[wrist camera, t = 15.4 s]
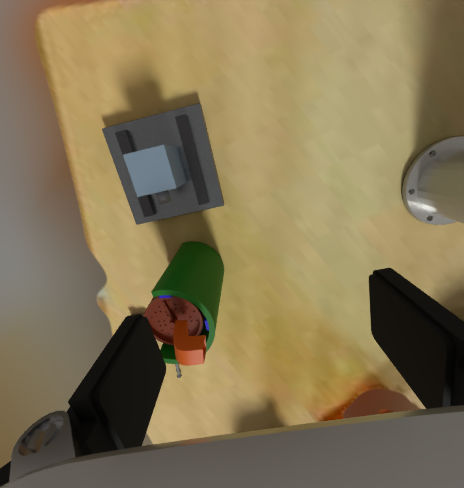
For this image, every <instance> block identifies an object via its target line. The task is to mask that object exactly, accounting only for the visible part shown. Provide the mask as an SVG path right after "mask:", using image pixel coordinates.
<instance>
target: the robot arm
mask: <svg viewBox="0 0 464 488" xmlns="http://www.w3.org/2000/svg"><path fill="white" fill-rule="evenodd" d="M402 196H403V202H404V204H405V207H406V209H407V210H408V211H409V213H410V214H411V215H412V216H413V217H415V218H416V219H418V220H420V221H422V222H425V223H428V224H433V225H445V224H450V223H454V222H456V221H458V222H461V223H464V136H459V137H451V138H447V139H443V140H441V141H438V142H436V143H434V144H433V145H431V146H429V147H428V148H426V149H425V150H424V151H423V152H422V153H420V154H419V155H418V157H417V158H416V159H415V160H414V161H413V163H412V164H411V166H410V167H409V169H408V171H407V173H406V176H405V178H404V182H403V189H402ZM369 293H370V314H371V331H372V335H373V337H374V339H375V340H376V342H377V343H378V344H379V346H380V347H381V349H382V350H383V351H384V353H385V354H386V355H387V357H388V358H389V359H390V361H391V362H392V363H393V365H394V366H395V367H396V369H397V370H398V371H399V373H400V374H401V375H402V377H403V378H404V379H405V381H406V382H407V383H408V385H409V386H410V387H411V389H412V390H413V392H414V393H415V394H416V396H417V397H418V398H419V400H420V401H421V402H422V404H423V405H424V406H425V408H426V409H422V410H413V411H404V412H394V413H386V414H379V415H371V416H363V417H355V418H347V419H339V420H331V421H323V422H316V423H308V424H300V425H293V426H285V427H278V428H270V429H263V430H255V431H248V432H240V433H233V434H225V435H218V436H211V437H203V438H196V439H189V440H182V441H175V442H168V443H161V444H153V445H146V446H142V443H143V440H144V437H145V434H146V431H147V428H148V425H149V422H150V419H151V416H152V413H153V410H154V407H155V404H156V401H157V398H158V395H159V392H160V389H161V386H162V382H163V379H164V376H165V373H166V364H165V361H164V359H163V356H162V354H161V351H160V349H159V346H158V344H157V341H156V339H155V336H154V334H153V331H152V329H151V326H150V324H149V321H148V319H147V317H145V316H144V317H143V315H142V314H136V315H131V316H127V317H126V318H125V319H124V321H123V322H122V324H121V325H120V326H119V328H118V329H117V331H116V332H115V334H114V335H113V337H112V338H111V340H110V341H109V343H108V344H107V345H106V347H105V348H104V350H103V351H102V353H101V354H100V356H99V357H98V359H97V360H96V361H95V363H94V364H93V366H92V367H91V369H90V370H89V372H88V373H87V375H86V376H85V378H84V379H83V380H82V382H81V383H80V385H79V386H78V388H77V389H76V391H75V392H74V394H73V395H72V397H71V398H70V399H69V401H68V403H69V405H70V408H69V409H68V411H67V412H65V411H55V412H52V413H49V414H47V415H45V416H44V417H42V418H41V419H39V420H38V421H36V422H35V423H34V424H32V425H31V426H30V427H29V428H28V429H27V430H26V431H25V432H24V433H23V434H22V435H21V437H20V438H19V439H18V441H17V442H16V444H15V446H14V448H13V451H12V456H11V461H10V462H9V463H7V464H6V465H4V466H3V467H2V468H0V488H464V321H462V320H461V319H459V318H458V317H457V316H455V315H454V314H453V313H451V312H450V311H449V310H447V309H446V308H445V307H443V306H442V305H440V304H439V303H438V302H436V301H435V300H434V299H432V298H431V297H430V296H428V295H427V294H426V293H424V292H423V291H421V290H420V289H419V288H417V287H416V286H415V285H413V284H412V283H411V282H409V281H408V280H407V279H405V278H404V277H402V276H401V275H400V274H398V273H397V272H396V271H394V270H393V269H391V268H385V269H380V270H374V271H373V275H370V276H369Z"/></svg>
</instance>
